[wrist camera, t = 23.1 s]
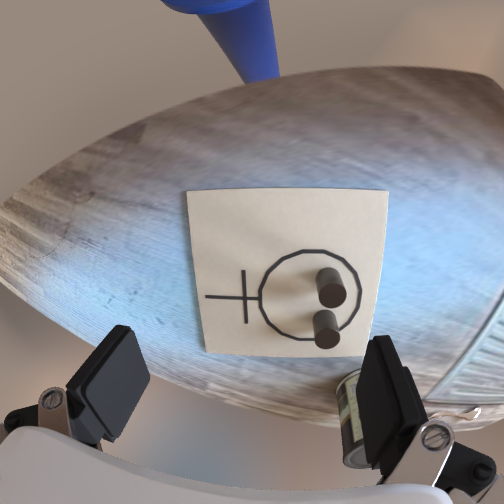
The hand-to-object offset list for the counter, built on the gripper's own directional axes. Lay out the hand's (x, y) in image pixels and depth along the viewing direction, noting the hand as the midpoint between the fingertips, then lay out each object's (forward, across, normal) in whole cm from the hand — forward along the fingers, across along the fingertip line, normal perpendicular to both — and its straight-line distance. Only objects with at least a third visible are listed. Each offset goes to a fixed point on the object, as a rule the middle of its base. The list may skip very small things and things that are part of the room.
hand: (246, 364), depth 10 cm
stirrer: (+23, -42, +43) cm, 64 cm away
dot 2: (+23, -6, +14) cm, 27 cm away
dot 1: (+23, -6, +8) cm, 25 cm away
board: (+24, -1, +9) cm, 25 cm away
